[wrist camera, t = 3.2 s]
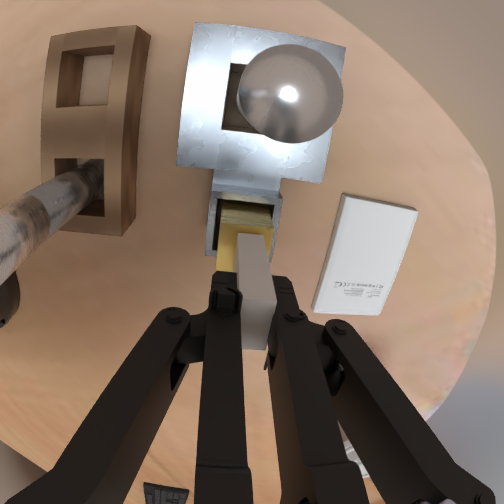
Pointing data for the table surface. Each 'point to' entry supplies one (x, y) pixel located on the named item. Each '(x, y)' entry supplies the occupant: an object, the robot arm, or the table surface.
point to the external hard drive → (363, 256)
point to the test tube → (45, 212)
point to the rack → (95, 121)
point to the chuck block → (236, 138)
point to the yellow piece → (241, 228)
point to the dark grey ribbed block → (164, 494)
